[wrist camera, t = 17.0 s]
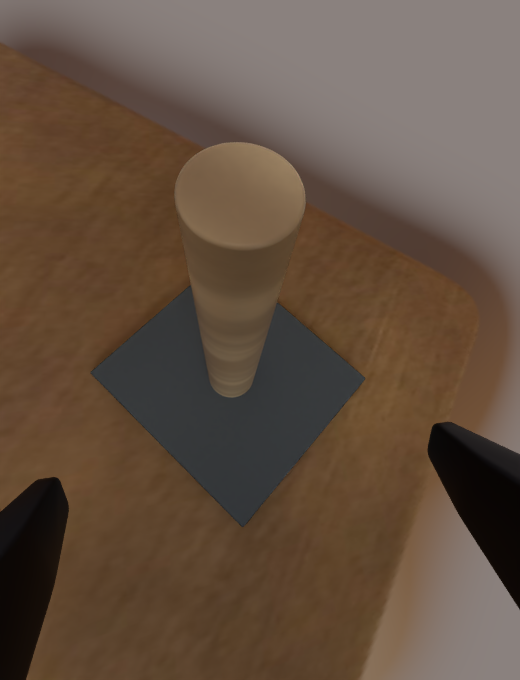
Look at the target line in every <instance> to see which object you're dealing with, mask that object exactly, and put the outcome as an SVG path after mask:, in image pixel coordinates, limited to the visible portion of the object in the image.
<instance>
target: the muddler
mask: <svg viewBox="0 0 520 680" xmlns="http://www.w3.org/2000/svg"><path fill="white" fill-rule="evenodd" d="M174 200H175V206H176V211H177V216H178V221H179V226H180V231H181V236H182V242H183V247H184V252H185V257H186V262H187V267H188V272H189V278H190V283H191V288H192V293H193V298H194V303H195V308H196V314H197V319H198V324H199V329H200V334H201V339H202V344H203V350H204V355H205V360H206V365H207V370H208V375H209V380H210V384H211V386H212V387H213V389H214V390H215V391H216V392H217V393H219V394H220V395H222V396H225V397H238V396H240V395H242V394H244V393H245V392H247V391H248V390H249V388H250V387H251V385H252V383H253V380H254V376H255V373H256V370H257V366H258V363H259V360H260V356H261V353H262V350H263V347H264V343H265V340H266V337H267V333H268V330H269V327H270V323H271V320H272V317H273V314H274V310H275V307H276V304H277V300H278V297H279V294H280V290H281V287H282V284H283V281H284V277H285V274H286V271H287V267H288V264H289V261H290V257H291V254H292V251H293V248H294V244H295V241H296V238H297V234H298V231H299V228H300V225H301V221H302V218H303V215H304V211H305V205H306V197H305V190H304V187H303V184H302V181H301V179H300V177H299V175H298V173H297V172H296V170H295V169H294V168H293V166H291V164H290V163H289V162H288V161H287V160H286V159H284V158H283V157H282V156H280V155H279V154H277V153H275V152H274V151H272V150H270V149H267V148H265V147H262V146H259V145H255V144H251V143H243V142H231V143H223V144H218V145H214V146H211V147H209V148H206V149H204V150H202V151H201V152H199V153H197V154H196V155H195V156H193V157H192V158H191V159H190V160H189V161H188V162H187V163H186V164H185V165H184V167H183V168H182V170H181V172H180V174H179V176H178V178H177V181H176V184H175V190H174Z"/></svg>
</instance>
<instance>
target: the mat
mask: <svg viewBox="0 0 520 680" xmlns="http://www.w3.org/2000/svg"><path fill="white" fill-rule="evenodd" d="M91 374H92V375H93V376H94V377H95V378H96V379H97V380H98V381H99V382H100V383H101V384H102V385H103V386H104V387H105V388H106V389H107V390H108V391H109V392H110V393H111V394H112V395H113V396H114V397H115V398H116V399H117V400H118V401H119V402H120V403H121V404H122V405H123V407H124V408H125V409H126V410H127V411H128V412H129V413H130V414H131V415H132V416H133V417H134V418H135V419H136V420H137V421H138V422H139V423H140V424H141V425H142V426H143V427H144V428H145V429H146V430H147V431H148V432H149V433H150V434H151V435H152V436H153V437H154V438H155V439H156V440H157V441H158V442H159V443H160V444H161V445H162V446H163V447H164V448H165V449H166V450H167V451H168V452H169V453H170V454H171V455H172V456H173V457H174V458H175V459H176V460H177V461H178V462H179V463H180V464H181V465H182V466H183V467H184V468H185V469H186V470H187V471H188V472H189V473H190V475H191V476H192V477H193V478H194V479H195V480H196V481H197V482H198V483H199V484H200V485H201V486H202V487H203V488H204V489H205V490H206V491H207V492H208V493H209V494H210V495H211V496H212V497H213V498H214V499H215V500H216V501H217V502H218V503H219V504H220V505H221V506H222V507H223V508H224V509H225V510H226V511H227V512H228V513H229V514H230V515H231V516H232V517H233V518H234V519H235V520H236V521H237V522H238V523H239V524H240V525H241V526H242V527H244V526H245V524H246V523H247V522H248V521H249V520H250V518H251V517H252V516H253V515H254V514H255V512H256V511H257V510H258V509H259V507H260V506H261V505H262V504H263V503H264V501H265V500H266V499H267V498H268V497H269V495H270V494H271V493H272V492H273V490H274V489H275V488H276V487H277V486H278V484H279V483H280V482H281V481H282V480H283V478H284V477H285V476H286V475H287V473H288V472H289V471H290V470H291V469H292V467H293V466H294V465H295V464H296V463H297V461H298V460H299V459H300V458H301V456H302V455H303V454H304V453H305V452H306V450H307V449H308V448H309V447H310V446H311V444H312V443H313V442H314V441H315V439H316V438H317V437H318V436H319V435H320V433H321V432H322V431H323V430H324V429H325V427H326V426H327V425H328V424H329V422H330V421H331V420H332V419H333V418H334V416H335V415H336V414H337V413H338V412H339V410H340V409H341V408H342V407H343V405H344V404H345V403H346V402H347V401H348V399H349V398H350V397H351V396H352V395H353V393H354V392H355V391H356V390H357V388H358V387H359V386H360V385H361V384H362V382H363V381H364V380H365V377H363V376H362V375H361V374H360V373H359V372H358V371H356V370H355V369H354V368H353V367H352V366H351V365H350V364H348V363H347V362H346V361H345V360H344V359H343V358H341V357H340V356H339V355H338V354H337V353H336V352H334V351H333V350H332V349H331V348H330V347H329V346H327V345H326V344H325V343H324V342H323V341H322V340H320V339H319V338H318V337H317V336H316V335H315V334H313V333H312V332H311V331H310V330H309V329H308V328H306V327H305V326H304V325H303V324H302V323H301V322H300V321H298V320H297V319H296V318H295V317H294V316H293V315H291V314H290V313H289V312H288V311H287V310H286V309H284V308H283V307H282V306H281V305H280V304H279V303H277V304H276V307H275V310H274V314H273V317H272V320H271V323H270V327H269V330H268V333H267V337H266V340H265V343H264V347H263V350H262V353H261V356H260V360H259V363H258V366H257V370H256V373H255V376H254V380H253V383H252V385H251V387H250V388H249V390H248V391H247V392H245V393H244V394H242V395H240V396H238V397H225V396H222V395H220V394H219V393H217V392H216V391H215V390H214V389H213V387H212V386H211V384H210V380H209V375H208V370H207V365H206V360H205V355H204V350H203V344H202V339H201V334H200V329H199V324H198V319H197V314H196V308H195V303H194V298H193V293H192V288H191V285H190V286H189V287H188V288H187V289H185V290H184V291H183V292H182V293H181V294H180V295H178V296H177V297H176V298H175V299H174V300H173V301H172V302H170V303H169V304H168V305H167V306H166V307H165V308H164V309H162V310H161V311H160V312H159V313H158V314H157V315H156V316H154V317H153V318H152V319H151V320H150V321H149V322H147V323H146V324H145V325H144V326H143V327H142V328H141V329H139V330H138V331H137V332H136V333H135V334H134V335H133V336H131V337H130V338H129V339H128V340H127V341H126V342H125V343H123V344H122V345H121V346H120V347H119V348H118V349H117V350H115V351H114V352H113V353H112V354H111V355H110V356H108V357H107V358H106V359H105V360H104V361H103V362H102V363H100V364H99V365H98V366H97V367H96V368H95V369H94V370H92V371H91Z"/></svg>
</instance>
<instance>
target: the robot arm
mask: <svg viewBox="0 0 520 680" xmlns="http://www.w3.org/2000/svg"><path fill="white" fill-rule="evenodd" d="M428 455H429V458H430V460H431V462H432V464H433V466H434V468H435V470H436V472H437V474H438V476H439V477H440V480H441V482H442V484H443V486H444V487H445V489H446V491H447V493H448V495H449V497H450V499H451V501H452V503H453V505H454V506H455V508H456V510H457V512H458V514H459V516H460V517H461V519H462V520H463V522H464V524H465V525H466V527H467V528H468V530H469V531H470V533H471V535H472V536H473V538H474V539H475V540H476V542H477V544H478V545H479V547H480V549H481V550H482V552H483V553H484V555H485V556H486V558H487V559H488V561H489V563H490V564H491V566H492V567H493V569H494V570H495V572H496V573H497V575H498V576H499V578H500V579H501V581H502V583H503V584H504V586H505V587H506V589H507V590H508V592H509V593H510V595H511V597H512V598H513V600H514V601H515V603H516V604H517V606H518V607H519V609H520V454H518V453H516V452H514V451H511V450H509V449H507V448H505V447H503V446H501V445H499V444H497V443H495V442H492V441H490V440H488V439H486V438H484V437H482V436H480V435H477V434H475V433H473V432H471V431H469V430H467V429H465V428H462V427H460V426H458V425H456V424H454V423H452V422H443V423H436V424H434V425H433V427H432V430H431V434H430V439H429V444H428ZM68 512H69V505H68V501H67V498H66V496H65V493H64V490H63V488H62V485H61V482H60V480H59V479H58V478H56V477H51V478H44V479H39V480H36V481H35V482H34V483H32V484H31V485H30V486H29V487H28V488H27V489H26V490H25V491H23V492H22V493H21V494H20V495H19V496H18V497H17V498H16V499H14V500H13V501H12V502H11V503H10V504H9V505H8V506H7V507H5V508H4V509H3V510H2V511H1V512H0V680H26V677H27V674H28V671H29V667H30V664H31V661H32V658H33V654H34V651H35V648H36V644H37V641H38V638H39V634H40V631H41V628H42V625H43V621H44V618H45V615H46V611H47V608H48V605H49V602H50V598H51V595H52V591H53V588H54V584H55V579H56V575H57V570H58V565H59V559H60V554H61V549H62V544H63V539H64V534H65V528H66V523H67V518H68Z"/></svg>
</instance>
